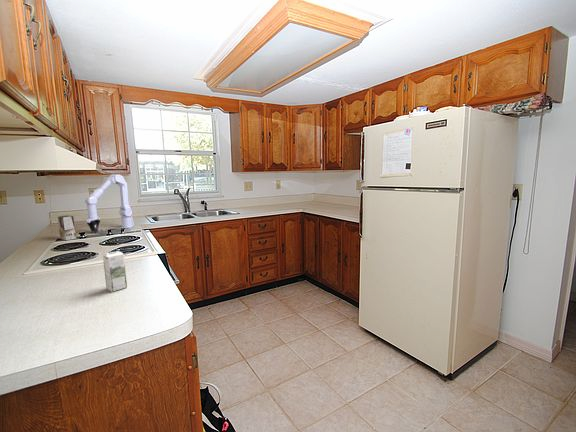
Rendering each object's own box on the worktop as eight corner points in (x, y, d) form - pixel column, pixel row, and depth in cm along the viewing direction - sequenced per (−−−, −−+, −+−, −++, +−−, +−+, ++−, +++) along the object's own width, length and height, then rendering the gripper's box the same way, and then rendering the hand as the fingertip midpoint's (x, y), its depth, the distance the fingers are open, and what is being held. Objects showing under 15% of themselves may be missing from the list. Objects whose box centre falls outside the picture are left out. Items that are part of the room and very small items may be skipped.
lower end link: (109, 231, 226) (109, 229, 226) (130, 230, 228) (130, 228, 228) (102, 233, 216) (102, 231, 216) (124, 233, 218) (124, 231, 218)
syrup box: (121, 284, 119) (117, 250, 117) (127, 287, 115) (124, 252, 113) (106, 288, 115) (102, 253, 112) (112, 292, 111) (107, 256, 109)
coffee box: (76, 238, 203) (73, 215, 200) (66, 240, 197) (62, 217, 195) (70, 237, 207) (67, 214, 205) (60, 239, 202) (56, 216, 199)
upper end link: (103, 231, 226) (103, 228, 226) (122, 230, 227) (122, 227, 227) (96, 234, 216) (96, 230, 216) (116, 233, 217) (116, 230, 217)
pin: (93, 232, 222) (92, 223, 221) (99, 232, 223) (98, 223, 222) (90, 233, 219) (89, 224, 217) (96, 233, 219) (95, 224, 218)
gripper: (92, 211, 225) (94, 228, 227) (81, 214, 211) (83, 232, 213) (101, 211, 226) (103, 228, 228) (91, 214, 211) (93, 232, 214)
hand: (94, 230), depth 220 cm, fingers closed on pin, 4 cm apart
